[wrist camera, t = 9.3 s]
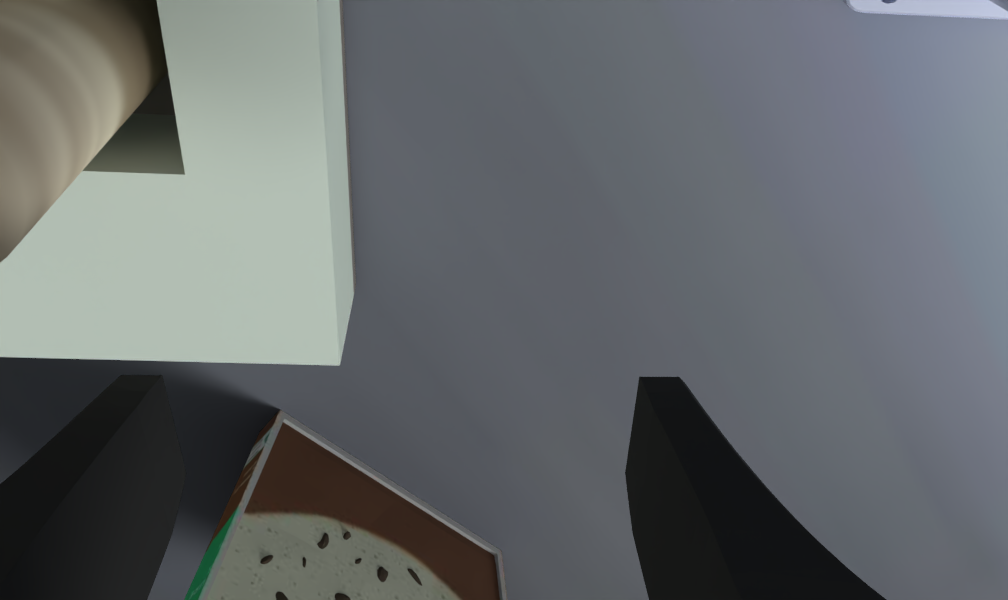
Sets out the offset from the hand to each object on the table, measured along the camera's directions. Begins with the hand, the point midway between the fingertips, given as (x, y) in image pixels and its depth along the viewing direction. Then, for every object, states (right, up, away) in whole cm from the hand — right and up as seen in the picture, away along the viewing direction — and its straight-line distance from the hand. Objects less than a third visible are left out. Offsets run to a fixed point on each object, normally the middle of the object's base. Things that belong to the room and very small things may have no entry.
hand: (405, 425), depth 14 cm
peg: (-7, +8, +6) cm, 12 cm away
